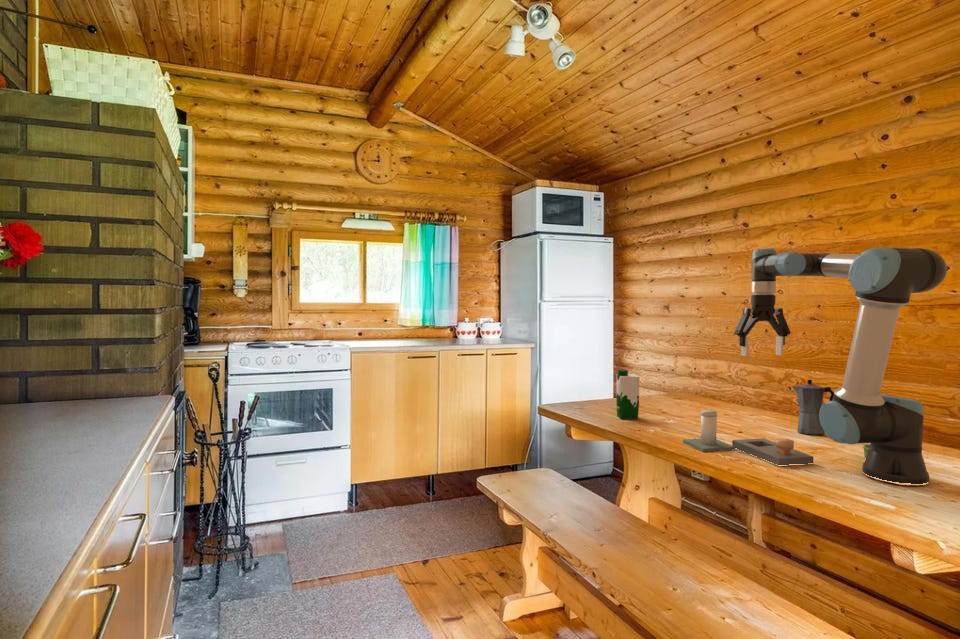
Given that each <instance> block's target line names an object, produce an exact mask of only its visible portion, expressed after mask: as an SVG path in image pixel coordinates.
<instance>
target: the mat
mask: <svg viewBox="0 0 960 639" xmlns="http://www.w3.org/2000/svg"><path fill="white" fill-rule="evenodd" d="M700 442H701V438H691V439H690V438H688V439H682V443H683V444H686V445H687V446H689V447H691V448H694V449H697V450H698V451H700V452H702V453H703V452H704V453H706V451H708V452H718V451H717V450H725V451H733V450H732V449H735V447H734V446H732V444H729V443H728V442H727V443H726V442H724V441H722V440H720V439H717V438H716V445H705V444H702V443H700ZM735 450H736V449H735Z"/></svg>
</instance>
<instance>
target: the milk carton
mask: <svg viewBox="0 0 960 639" xmlns="http://www.w3.org/2000/svg"><path fill="white" fill-rule="evenodd" d="M615 375H616V393H615V394H616V395H615V396H616V397H615V398H616V401H615V403H616V406H615V407H616V416H617V417H618V418H619V419H620V420H638V419H639V411H640V376H639V375H636V374H633V373H632V374H629V370H627V369H619V370H617V374H615Z"/></svg>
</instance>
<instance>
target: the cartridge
mask: <svg viewBox="0 0 960 639" xmlns="http://www.w3.org/2000/svg"><path fill="white" fill-rule="evenodd" d="M717 417H718V412H717V411H716V410H712V409H701V410H700V439H701V442H700V443H702V444H705V445H716V439H717V431H718V430H717V429H718V428H717V426H718V425H717V424H718V423H717V422H718V418H717Z"/></svg>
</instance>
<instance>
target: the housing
mask: <svg viewBox="0 0 960 639" xmlns="http://www.w3.org/2000/svg"><path fill="white" fill-rule="evenodd" d="M731 445H732V446H734V447H735V448H737V449H739V450H738V451H740V450H741V451H740V452H742V451H744V452H746V453H745V454H747V453H749V454H752V455H754V456H757V457H759V458H762V459H765V460H767V461H769V462H772V463H774V464H777V465H789V464H808V463H813V464H814V460H815V459H814V458H815V457H814V455H811V454H808V453H805V452H803V451H800V450H797V449H795V448H793V449H791V454H788V455H783V454H780V453H778V447H776V446H775V442H774V441H772V440H769V439H767V438H763V437H762V438H748V439H747V438H744V439H732V441H731ZM737 449H736V450H737ZM744 452H743V453H744ZM749 454H748V455H749ZM752 455H751V456H752ZM754 456H753V457H754ZM759 458H758V459H759Z"/></svg>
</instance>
